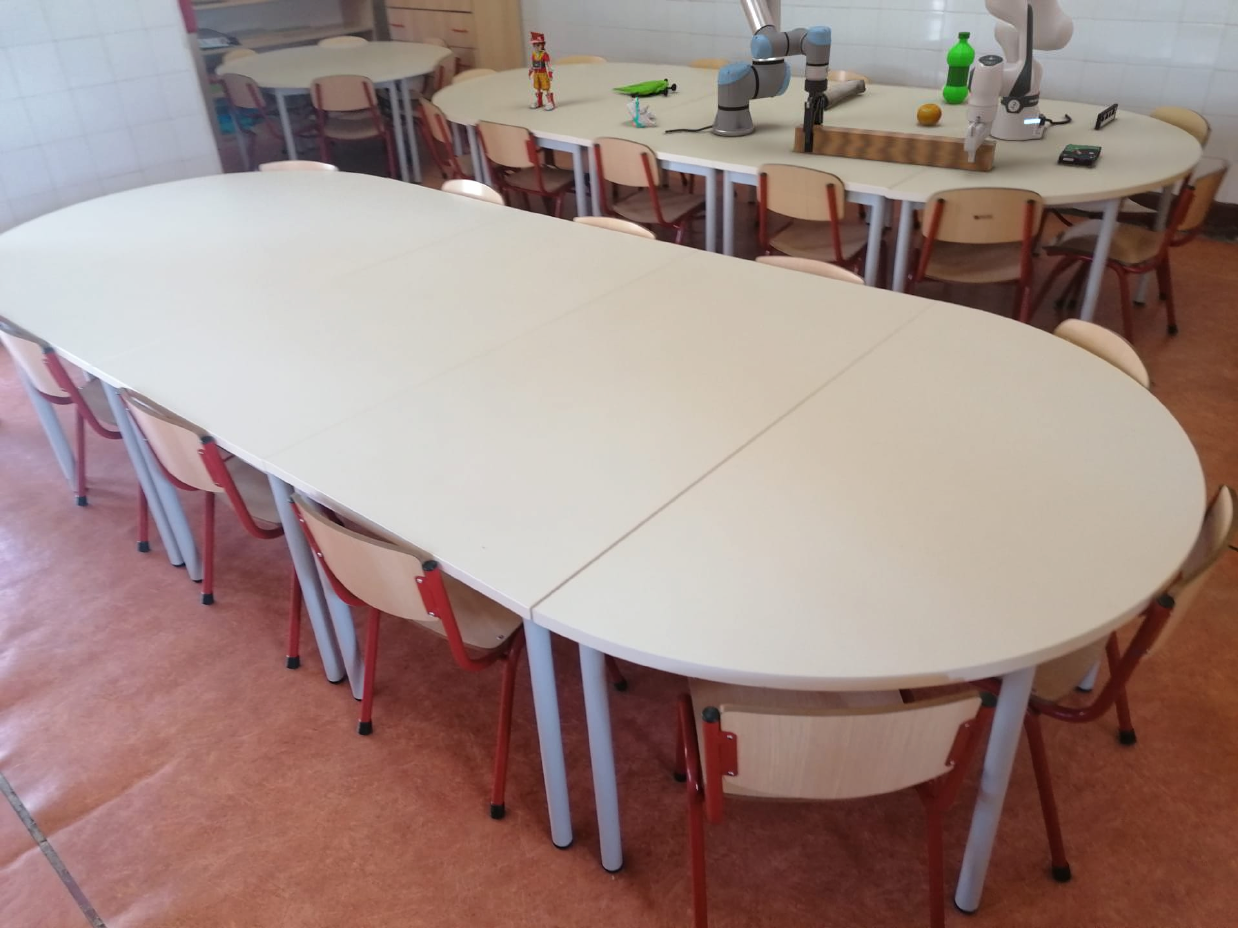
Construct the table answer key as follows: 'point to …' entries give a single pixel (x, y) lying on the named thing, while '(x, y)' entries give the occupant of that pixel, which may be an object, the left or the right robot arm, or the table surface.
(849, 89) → the rolled mat
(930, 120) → the fruit
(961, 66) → the plastic bottle
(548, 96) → the toy
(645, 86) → the toy
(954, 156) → the bar
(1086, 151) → the disk drive
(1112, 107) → the midi keyboard
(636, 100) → the anatomical model
